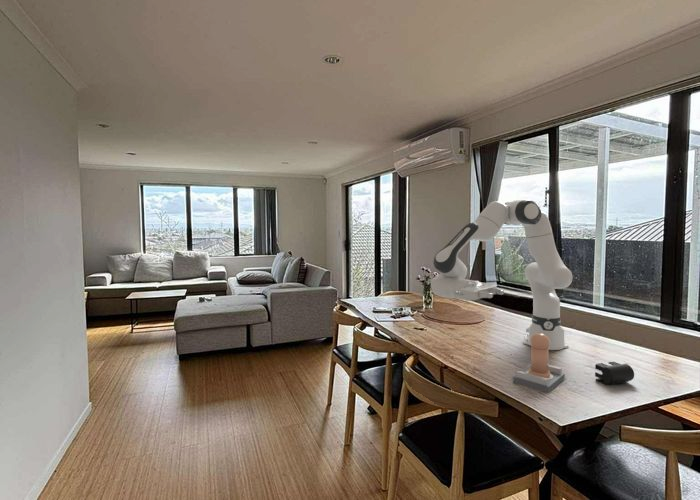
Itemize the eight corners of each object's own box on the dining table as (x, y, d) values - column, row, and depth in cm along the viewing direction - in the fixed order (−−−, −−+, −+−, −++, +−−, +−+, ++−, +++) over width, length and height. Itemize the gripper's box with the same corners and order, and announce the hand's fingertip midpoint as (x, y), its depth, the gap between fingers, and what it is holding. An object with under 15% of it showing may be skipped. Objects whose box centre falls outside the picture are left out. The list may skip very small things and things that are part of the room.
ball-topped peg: (527, 369, 140) (528, 329, 139) (548, 372, 137) (549, 331, 136) (529, 377, 133) (530, 335, 132) (551, 379, 131) (552, 336, 130)
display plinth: (530, 369, 145) (530, 359, 145) (564, 378, 136) (564, 368, 136) (513, 382, 134) (513, 371, 134) (548, 392, 125) (549, 381, 125)
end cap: (611, 388, 128) (612, 369, 128) (593, 380, 135) (594, 362, 135) (634, 385, 131) (635, 366, 130) (615, 377, 137) (616, 359, 137)
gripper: (452, 285, 149) (485, 289, 139) (477, 279, 163) (508, 283, 153) (452, 301, 149) (484, 306, 139) (477, 294, 163) (508, 298, 153)
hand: (497, 294), depth 146 cm, fingers open, 8 cm apart
